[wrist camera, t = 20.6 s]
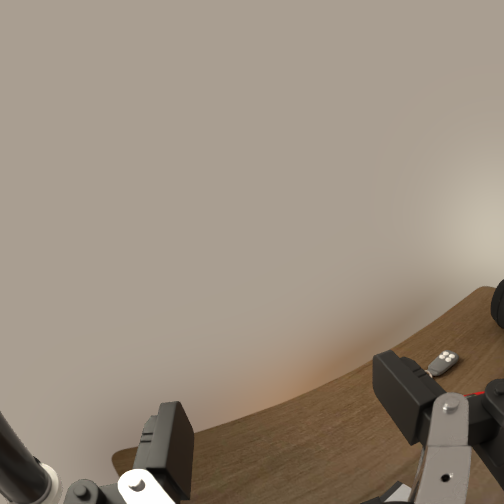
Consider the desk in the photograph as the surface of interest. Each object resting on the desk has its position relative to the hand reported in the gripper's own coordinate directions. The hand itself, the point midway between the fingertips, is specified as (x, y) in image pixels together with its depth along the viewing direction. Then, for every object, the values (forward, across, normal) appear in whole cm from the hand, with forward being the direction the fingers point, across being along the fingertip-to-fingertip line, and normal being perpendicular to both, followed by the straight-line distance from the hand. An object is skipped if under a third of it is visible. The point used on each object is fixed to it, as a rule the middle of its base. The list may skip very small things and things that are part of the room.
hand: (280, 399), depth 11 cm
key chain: (+20, -24, +24) cm, 40 cm away
